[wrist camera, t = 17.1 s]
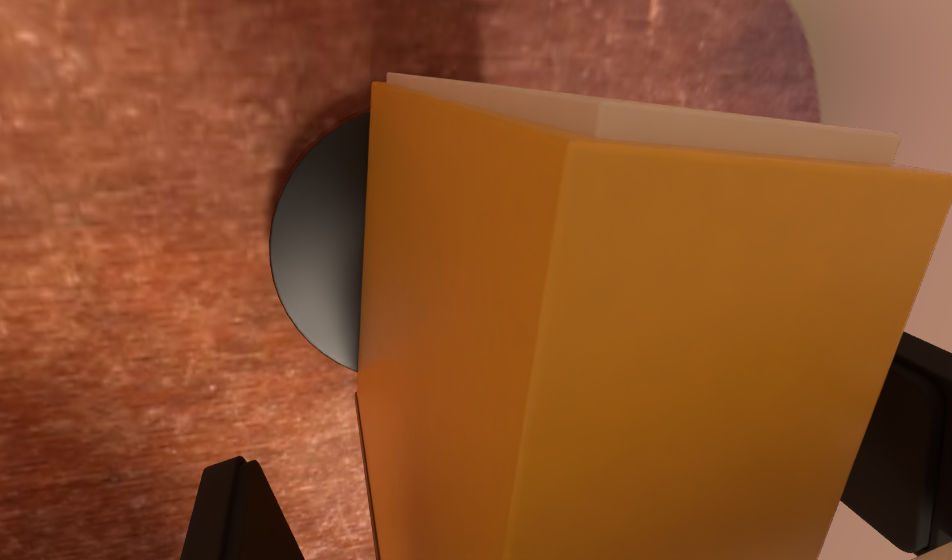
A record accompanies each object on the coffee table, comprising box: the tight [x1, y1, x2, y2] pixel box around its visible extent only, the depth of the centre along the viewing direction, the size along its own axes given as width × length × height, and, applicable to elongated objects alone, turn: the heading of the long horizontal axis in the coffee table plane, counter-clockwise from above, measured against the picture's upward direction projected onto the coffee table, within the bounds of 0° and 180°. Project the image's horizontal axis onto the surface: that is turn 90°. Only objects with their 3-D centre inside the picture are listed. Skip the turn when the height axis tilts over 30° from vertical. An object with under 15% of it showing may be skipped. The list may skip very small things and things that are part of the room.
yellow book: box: [355, 72, 952, 560], centre depth 13 cm, size 4×12×15 cm, turn 174°
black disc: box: [269, 108, 371, 372], centre depth 21 cm, size 10×10×1 cm
